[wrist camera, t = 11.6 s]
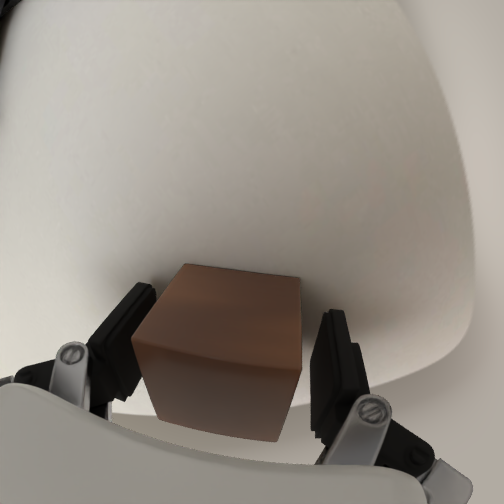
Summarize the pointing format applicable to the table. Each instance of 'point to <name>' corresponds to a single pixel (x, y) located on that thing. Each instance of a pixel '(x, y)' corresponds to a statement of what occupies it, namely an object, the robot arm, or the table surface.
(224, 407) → the block
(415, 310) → the table surface
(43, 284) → the table surface
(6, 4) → the dark drawer cabinet
